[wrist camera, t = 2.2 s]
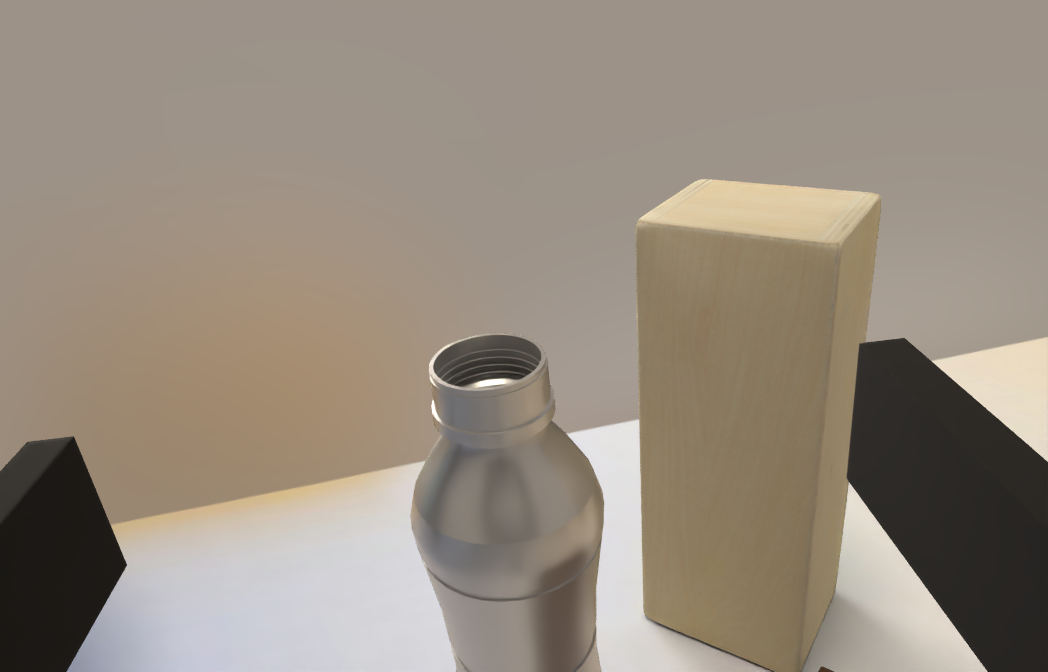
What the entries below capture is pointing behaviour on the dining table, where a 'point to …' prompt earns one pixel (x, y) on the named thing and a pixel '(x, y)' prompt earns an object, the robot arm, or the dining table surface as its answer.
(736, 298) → the toy refrigerator
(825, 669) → the walnut board
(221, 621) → the dining table surface
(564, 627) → the silver metal bottle
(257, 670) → the dining table surface
